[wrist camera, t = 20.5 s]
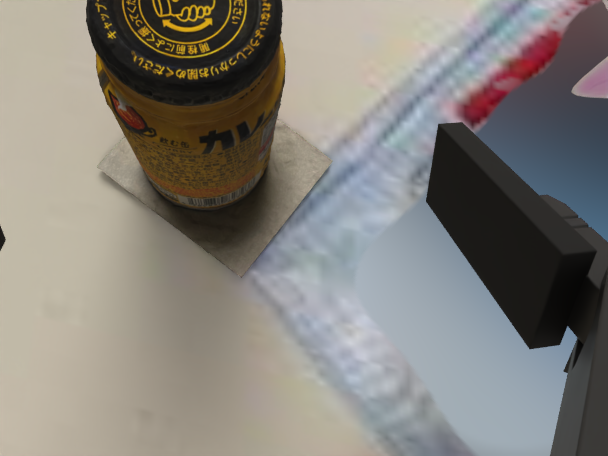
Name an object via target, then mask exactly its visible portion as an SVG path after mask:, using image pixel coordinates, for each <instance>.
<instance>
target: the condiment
mask: <svg viewBox="0 0 608 456" xmlns="http://www.w3.org/2000/svg"><path fill="white" fill-rule="evenodd" d="M282 12H283V10H282V1H281V0H87V7H86V15H87V18H86V22H87V26H88V31H89V34H90V36H91V41H92V44H93V46H94V48H95V50H96V52H97V53H96V68H97V73H98V78H99V82H100V86H101V88H102V92H103V93H104V96H105V99H106V102H107V105H108V106H109V107H110V109H111V110H112V112H113V114H114V116H115V117H116V119H117V121H118V123H119V125H120V127H121V129H122V131H123V133H124V135H125V137H124V138H123V139H122V140H121V141H120V142H119V143H118V144H117V145H116V146H115V147H114V148H113V149H112V150H111V151H110V153H109V154H108V155H107V156H106V157H105V158H104V159H103V160H102V161H101V162H100V164H99V165H98V166H97V168H99V169H100V170H101V171H103V172H104V173H105V174H107V175H108V176H109V177H110V178H112V179H113V180H114V181H116V182H117V183H118V184H120V185H121V186H122V187H123V188H125V189H126V190H127V191H129V192H130V193H131V194H133V195H134V196H135V197H137V198H138V199H139V200H140V201H142V202H143V203H144V204H145V205H147V206H148V207H149V208H151V209H152V210H153V211H155V212H156V213H157V214H159V215H160V216H161V217H163V218H164V219H165V220H167V221H168V222H169V223H170V224H172V225H173V226H174V227H176V228H177V229H179V230H180V231H181V232H182V233H184V234H185V235H187V236H188V237H189V238H190V239H191V240H193V241H194V242H195V243H197V244H198V245H199V246H201V247H202V248H203V249H204V250H206V251H207V252H208V253H210V254H211V255H212V256H214V257H215V258H216V259H218V260H219V261H220V262H222V263H223V264H224V265H226V266H227V267H228V268H229V269H231V270H232V271H233V272H235V273H236V274H237V275H239V276H240V277H242V276H243V275H244V274H245V273H246V271H247V270H248V269H249V267H250V266H251V265H252V263H253V262H254V261H255V260H256V259H257V257H258V256H259V255H260V253H261V252H262V251H263V250H264V248H265V247H266V246H267V245H268V243H269V242H270V241H271V239H272V238H273V237H274V236H275V235H276V233H277V232H278V231H279V229H280V228H281V227H282V225H283V224H284V223H285V222H286V220H287V219H288V218H289V216H290V215H291V214H292V213H293V211H294V210H295V209H296V208H297V207H298V205H299V204H300V202H301V201H302V200H303V199H304V197H305V196H306V195H307V193H308V192H309V191H310V190H311V188H312V187H313V186H314V185H315V183H316V182H317V181H318V179H319V178H320V177H321V176H322V174H323V173H324V172H325V170H326V169H327V168H328V167H329V165H330V164H331V163H332V160H331V159H329V158H328V157H327V156H325V155H324V154H323V153H322V152H321V151H319V150H318V149H317V148H315V147H314V146H312V145H311V144H310V143H308V142H307V141H306V140H305V139H304V138H302V137H301V136H300V135H298V134H297V133H295V132H294V131H292V130H291V129H290V128H289V127H288V126H286V125H285V124H284V123H283V122H281V121H279V120H278V119H277V116H278V110H279V108H280V105H281V104H280V102H281V98H282V92H283V87H284V83H285V54H284V50H283V43H282V41H281V37H280V34H281V27H282Z"/></svg>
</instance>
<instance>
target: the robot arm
mask: <svg viewBox="0 0 608 456" xmlns="http://www.w3.org/2000/svg"><path fill="white" fill-rule="evenodd" d="M426 202H427V203H428V205H429V206H430V208H431V209H432V210H433V212H434V213H435V214H436V216H437V218H438V219H439V220H440V222H441V223H442V225H443V226H444V228H445V229H446V230H447V232H448V233H449V235H450V236H451V238H452V239H453V240H454V242H455V243H456V245H457V246H458V248H459V249H460V250H461V252H462V253H463V255H464V256H465V257H466V259H467V260H468V262H469V263H470V265H471V266H472V267H473V269H474V270H475V272H476V273H477V275H478V276H479V278H480V279H481V280H482V281H483V283H484V285H485V286H486V288H487V289H488V290H489V292H490V293H491V295H492V296H493V297H494V299H495V300H496V302H497V303H498V304H499V306H500V307H501V309H502V310H503V312H504V313H505V315H506V316H507V317H508V319H509V320H510V322H511V323H512V325H513V326H514V327H515V329H516V330H517V332H518V333H519V334H520V336H521V337H522V339H523V340H524V342H525V343H526V345H527V346H528V347H529V349H534V348H541V347H548V346H555V345H560V343H561V340H562V338H563V336H564V333H565V331H566V328H567V326H569V328H570V329H571V330H572V331H573V333H574V334H575V335H576V336H577V341H576V343H575V345H574V348H573V350H572V353H571V355H570V358H569V360H568V362H567V364H566V367H565V369H564V372H566V373H568V375H567V379H566V384H565V389H564V393H563V398H562V403H561V407H560V412H559V417H558V422H557V426H556V431H555V436H554V441H553V445H552V449H551V454H550V456H608V242H607V241H606V240H605V239H603V238H602V237H601V236H600V235H599V234H598V233H597V232H596V231H595V230H594V229H592V228H591V227H588V224H587V223H585V221H583V219H581V218H578V215H577V214H576V213H575V212H574V211H573V210H571V209H570V208H569V207H568V206H567V205H566V204H564V203H562V202H560V201H558V200H557V199H555V198H553V197H551V196H549V195H540V196H539V195H538V194H537V193H536V192H535V191H534V190H533V189H532V188H531V187H530V186H529V185H528V184H526V183H525V182H524V181H523V180H522V179H521V178H520V177H519V176H518V175H517V174H516V173H515V172H514V171H513V170H512V169H511V168H510V167H509V166H507V165H506V164H505V163H504V162H503V161H502V160H501V159H500V158H499V157H498V156H497V155H496V154H495V153H494V152H493V151H492V150H491V149H489V147H488V146H486V145H485V144H484V143H483V142H482V141H481V140H480V139H479V138H478V137H477V136H476V135H475V134H474V133H473V132H472V131H471V130H470V129H469V128H468V127H466V126H465V125H464V124H463V123H462V122H459V123H445V124H438V130H437V136H436V142H435V148H434V155H433V161H432V167H431V173H430V180H429V186H428V192H427V198H426ZM5 240H6V239H5V236H4V234H3V231H2V229H1V226H0V251H1V249H2V247H3V244H4V242H5Z"/></svg>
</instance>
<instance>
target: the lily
mask: <svg viewBox="0 0 608 456" xmlns="http://www.w3.org/2000/svg"><path fill="white" fill-rule="evenodd" d="M603 2H604V4H605V6H606V8H607V10H608V0H603ZM572 93H573V94H575V95H577V96H583V97H593V98H594V97H595V98H608V57H607V58H605V59H604V60H603V61H602V62H600V63H599V64H598V65H597V66H595V67H594V68H593V69H592V70H591V71H590V72H589V73H587V74H586V75H585V76H584V77H583V78H582V79H581V80H580V81H579V82H578V83H577V84H576V85H575V86H574V87H573V89H572Z"/></svg>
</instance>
